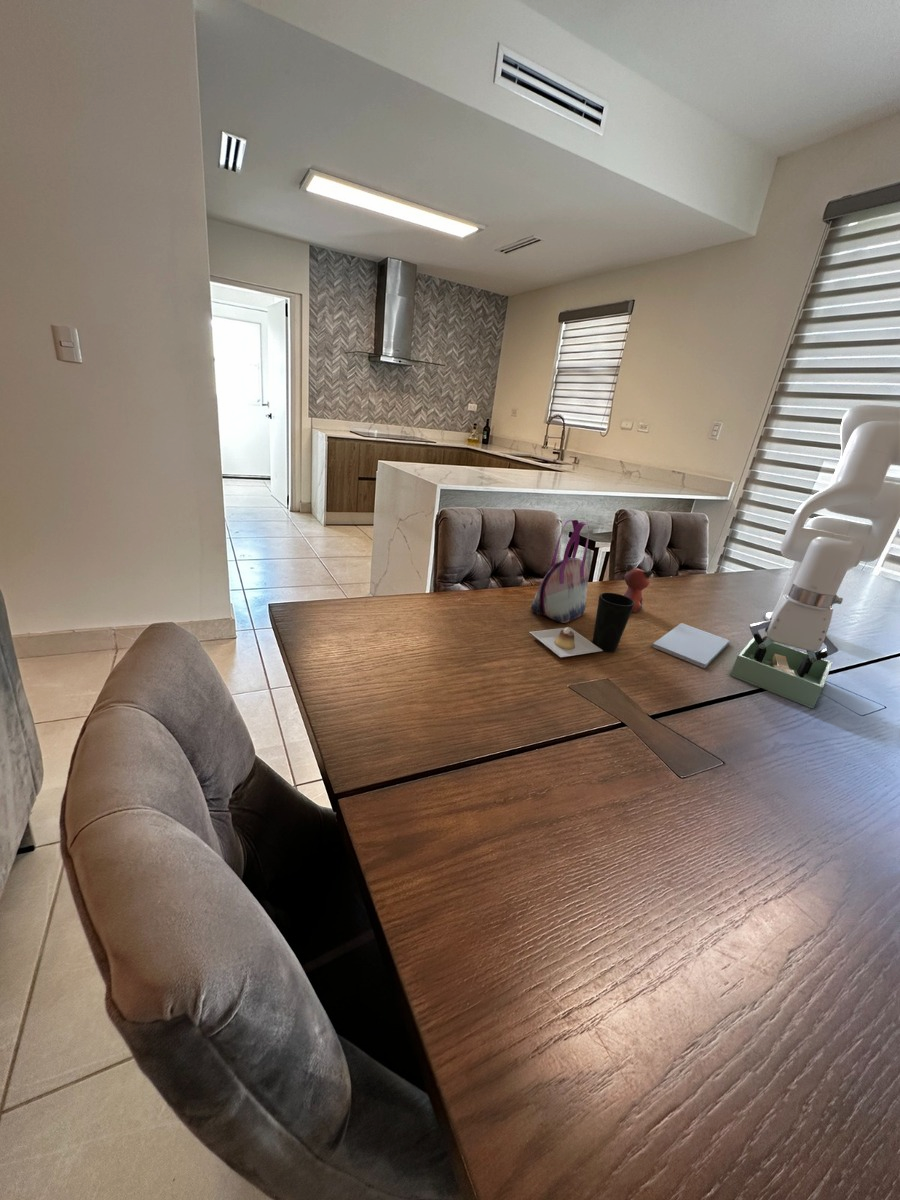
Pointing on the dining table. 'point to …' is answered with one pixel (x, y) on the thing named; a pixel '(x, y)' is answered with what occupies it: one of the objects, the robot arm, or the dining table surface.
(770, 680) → the basket
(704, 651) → the mat
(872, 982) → the dining table surface
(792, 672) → the brush
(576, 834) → the dining table surface
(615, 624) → the cup
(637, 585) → the stuffed fox
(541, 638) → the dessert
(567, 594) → the handbag
